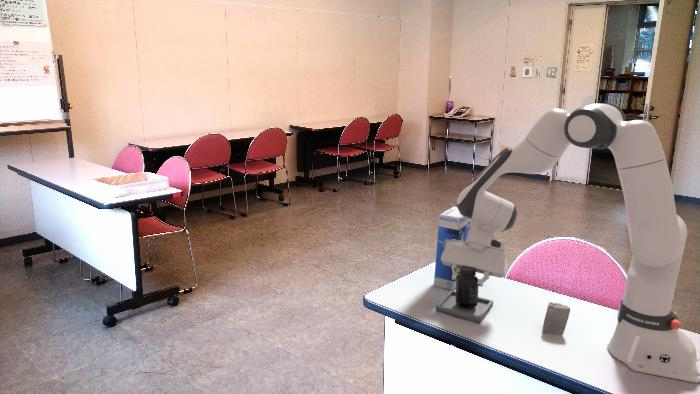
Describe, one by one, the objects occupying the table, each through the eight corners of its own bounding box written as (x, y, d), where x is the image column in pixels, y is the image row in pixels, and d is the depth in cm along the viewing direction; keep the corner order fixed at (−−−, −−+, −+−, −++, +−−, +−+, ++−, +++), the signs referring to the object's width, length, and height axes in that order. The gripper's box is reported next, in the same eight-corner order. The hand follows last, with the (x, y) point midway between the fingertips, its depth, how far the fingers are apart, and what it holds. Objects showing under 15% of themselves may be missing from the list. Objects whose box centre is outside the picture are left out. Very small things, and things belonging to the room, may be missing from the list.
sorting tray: (492, 305, 167) (493, 300, 167) (479, 323, 155) (480, 318, 155) (450, 295, 174) (451, 290, 173) (435, 311, 162) (435, 306, 161)
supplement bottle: (475, 300, 167) (478, 264, 164) (478, 309, 160) (481, 272, 157) (454, 299, 168) (455, 264, 165) (456, 308, 161) (458, 272, 158)
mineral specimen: (575, 334, 150) (573, 309, 148) (544, 338, 151) (542, 313, 148) (566, 320, 157) (564, 297, 155) (536, 324, 158) (534, 301, 156)
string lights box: (453, 291, 177) (459, 218, 170) (432, 285, 180) (437, 214, 174) (466, 278, 188) (473, 209, 181) (446, 273, 191) (452, 205, 185)
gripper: (446, 233, 170) (433, 270, 164) (509, 245, 160) (498, 286, 154) (449, 242, 175) (437, 279, 169) (511, 254, 165) (500, 294, 159)
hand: (466, 282), depth 162 cm, fingers closed on supplement bottle, 7 cm apart
